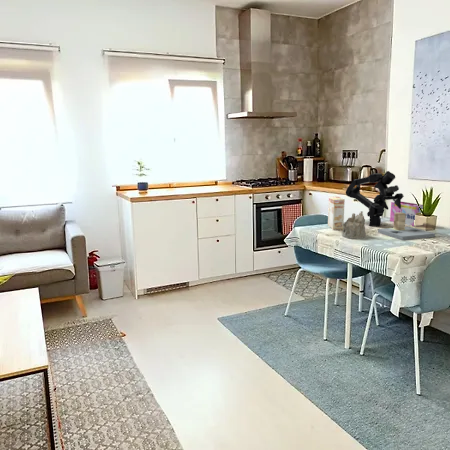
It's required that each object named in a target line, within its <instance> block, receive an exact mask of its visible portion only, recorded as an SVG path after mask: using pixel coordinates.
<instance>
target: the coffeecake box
mask: <svg viewBox="0 0 450 450" xmlns="http://www.w3.org/2000/svg"><path fill="white" fill-rule="evenodd" d="M345 203H346V202H345V198H342V197H341V196H328V205H327V206H328V208H327V209H328V210H327V211H328V212H327V226H328V227H329V228H330V229H332V230H334V231H335V230H336V231H337V230H339V231H340V230H342V231H343V224H344V223H345V221H344V220H345Z"/></svg>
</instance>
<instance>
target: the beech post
mask: <svg viewBox="0 0 450 450" xmlns="http://www.w3.org/2000/svg"><path fill="white" fill-rule="evenodd" d="M405 217H406V213H401V212H398V213H394V222H393V227H392V228H393V229H395V230H405V227H406V224H405Z"/></svg>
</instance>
